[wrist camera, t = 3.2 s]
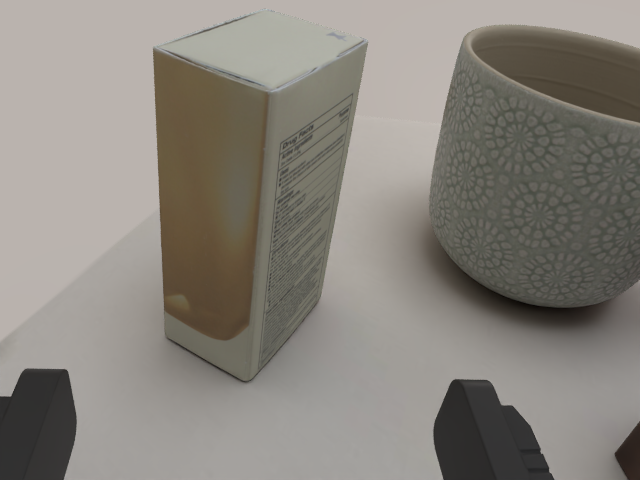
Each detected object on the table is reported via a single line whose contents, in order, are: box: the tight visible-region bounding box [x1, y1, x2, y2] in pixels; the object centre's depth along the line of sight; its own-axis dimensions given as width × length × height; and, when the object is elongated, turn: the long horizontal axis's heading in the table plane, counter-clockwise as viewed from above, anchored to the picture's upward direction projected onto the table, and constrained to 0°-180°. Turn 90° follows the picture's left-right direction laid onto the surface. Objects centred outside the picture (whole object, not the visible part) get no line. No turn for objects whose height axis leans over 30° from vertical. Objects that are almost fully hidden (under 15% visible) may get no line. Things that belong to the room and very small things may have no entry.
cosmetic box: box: [153, 9, 368, 381], centre depth 21 cm, size 6×4×12 cm
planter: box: [429, 25, 640, 308], centre depth 28 cm, size 12×12×11 cm
